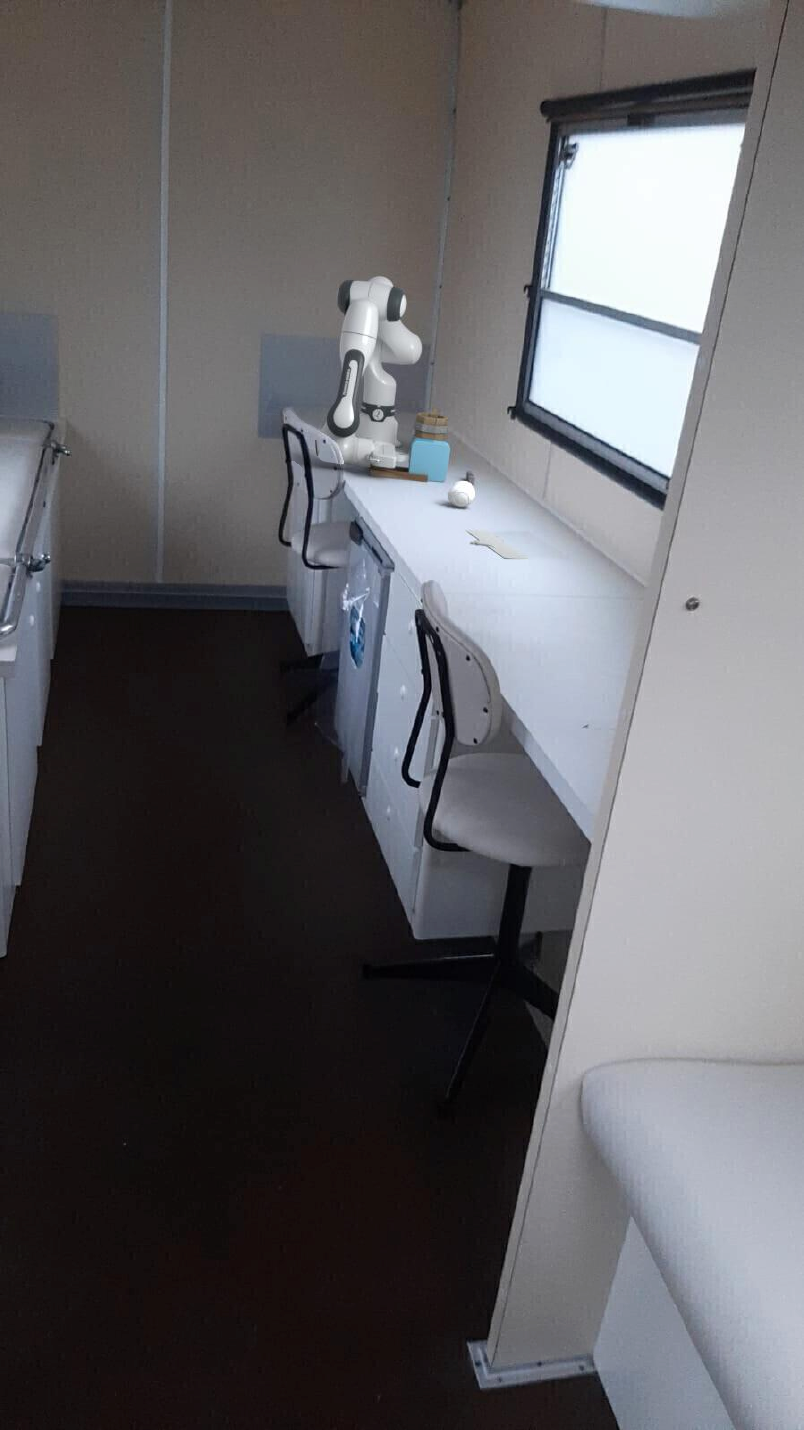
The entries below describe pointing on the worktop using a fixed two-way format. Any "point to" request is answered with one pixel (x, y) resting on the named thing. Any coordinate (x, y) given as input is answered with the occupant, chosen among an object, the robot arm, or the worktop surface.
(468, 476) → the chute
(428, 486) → the worktop surface
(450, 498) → the white ball
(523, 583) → the worktop surface
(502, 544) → the white flat panel
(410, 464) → the data package
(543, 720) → the worktop surface
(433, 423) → the tankard
